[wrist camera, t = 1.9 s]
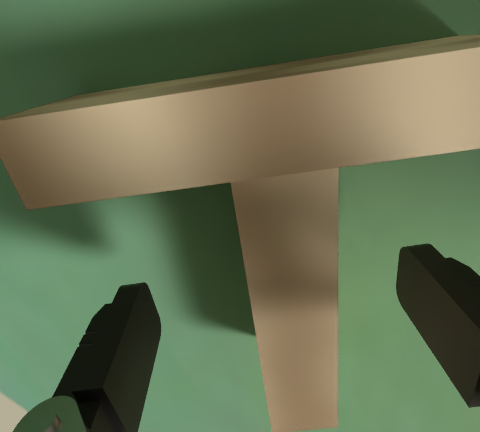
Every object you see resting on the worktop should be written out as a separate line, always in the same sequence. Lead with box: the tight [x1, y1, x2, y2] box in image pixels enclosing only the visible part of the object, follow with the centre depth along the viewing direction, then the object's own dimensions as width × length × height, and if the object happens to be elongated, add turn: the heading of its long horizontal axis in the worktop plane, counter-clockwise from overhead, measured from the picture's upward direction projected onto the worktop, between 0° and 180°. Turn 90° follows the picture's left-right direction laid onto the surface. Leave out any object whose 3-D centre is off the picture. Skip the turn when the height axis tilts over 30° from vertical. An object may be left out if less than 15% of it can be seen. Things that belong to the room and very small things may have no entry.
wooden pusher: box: [0, 35, 480, 432], centre depth 11 cm, size 12×12×4 cm
